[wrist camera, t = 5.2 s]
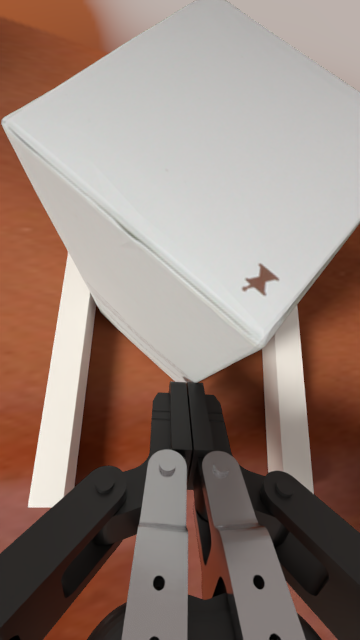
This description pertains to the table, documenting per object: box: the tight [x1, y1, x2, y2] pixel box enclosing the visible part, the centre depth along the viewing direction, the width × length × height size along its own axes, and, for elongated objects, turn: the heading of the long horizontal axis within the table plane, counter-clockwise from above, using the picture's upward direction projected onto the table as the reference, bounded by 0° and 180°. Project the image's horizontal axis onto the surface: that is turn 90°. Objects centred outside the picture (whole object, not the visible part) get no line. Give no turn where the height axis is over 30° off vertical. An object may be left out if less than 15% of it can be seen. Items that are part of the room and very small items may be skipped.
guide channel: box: [28, 252, 314, 507], centre depth 16 cm, size 14×22×6 cm, turn 178°
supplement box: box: [2, 0, 360, 383], centre depth 12 cm, size 7×7×13 cm
